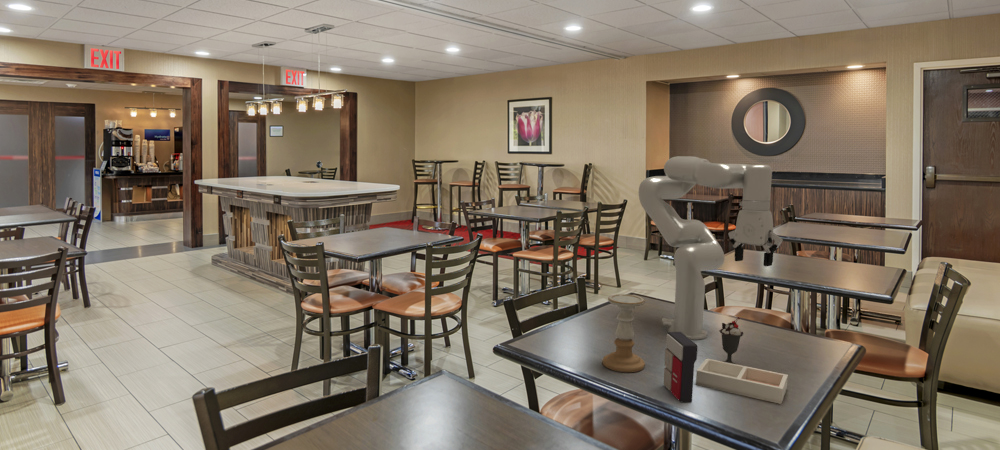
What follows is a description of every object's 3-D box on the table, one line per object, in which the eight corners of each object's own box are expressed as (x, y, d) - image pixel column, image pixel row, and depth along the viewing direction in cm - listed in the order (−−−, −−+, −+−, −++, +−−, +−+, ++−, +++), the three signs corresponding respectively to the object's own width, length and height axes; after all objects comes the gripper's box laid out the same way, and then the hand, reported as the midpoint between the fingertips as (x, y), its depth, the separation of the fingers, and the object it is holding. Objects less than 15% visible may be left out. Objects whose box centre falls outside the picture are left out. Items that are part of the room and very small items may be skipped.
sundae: (743, 370, 165) (747, 320, 163) (719, 368, 166) (722, 318, 164) (738, 361, 171) (742, 313, 169) (715, 360, 172) (718, 312, 170)
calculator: (661, 385, 153) (664, 331, 151) (677, 384, 154) (680, 331, 152) (677, 402, 143) (681, 345, 141) (694, 402, 143) (697, 345, 141)
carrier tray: (695, 384, 154) (696, 370, 153) (705, 371, 163) (706, 358, 162) (781, 404, 143) (782, 389, 142) (786, 389, 152) (788, 374, 151)
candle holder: (594, 360, 171) (596, 295, 168) (628, 355, 176) (631, 291, 173) (618, 375, 160) (621, 305, 157) (653, 369, 164) (657, 301, 162)
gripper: (723, 205, 174) (720, 260, 176) (775, 209, 159) (771, 269, 161) (738, 204, 178) (735, 258, 180) (791, 208, 163) (787, 266, 165)
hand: (752, 263), depth 170 cm, fingers open, 9 cm apart
